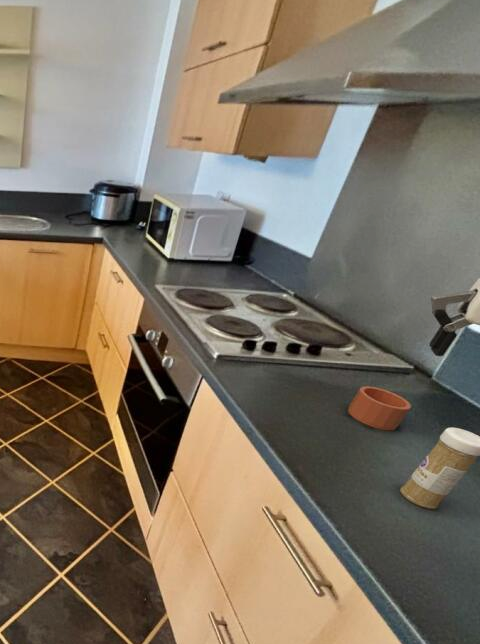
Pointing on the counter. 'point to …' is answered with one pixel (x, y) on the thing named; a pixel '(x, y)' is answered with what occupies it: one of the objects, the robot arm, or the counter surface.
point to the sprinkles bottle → (442, 467)
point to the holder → (378, 408)
